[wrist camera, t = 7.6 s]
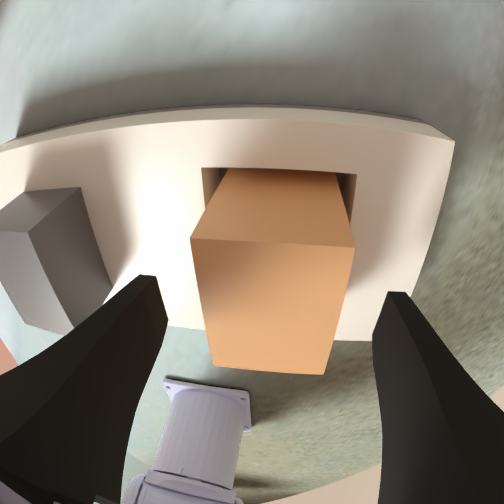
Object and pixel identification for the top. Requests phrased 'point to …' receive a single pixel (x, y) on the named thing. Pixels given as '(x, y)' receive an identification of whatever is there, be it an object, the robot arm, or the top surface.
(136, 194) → the white slotted slab
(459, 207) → the top surface
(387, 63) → the top surface
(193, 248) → the tan cardboard box
